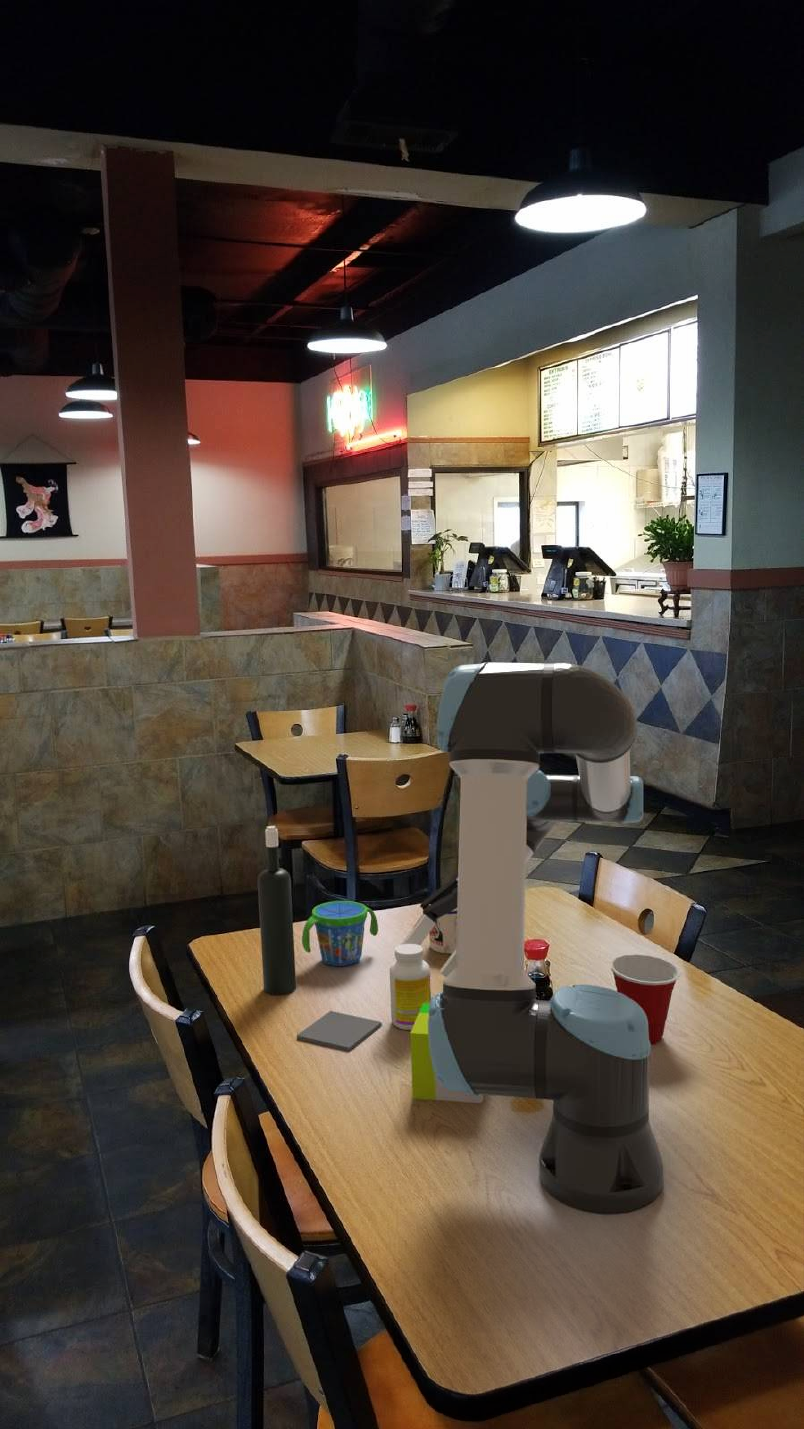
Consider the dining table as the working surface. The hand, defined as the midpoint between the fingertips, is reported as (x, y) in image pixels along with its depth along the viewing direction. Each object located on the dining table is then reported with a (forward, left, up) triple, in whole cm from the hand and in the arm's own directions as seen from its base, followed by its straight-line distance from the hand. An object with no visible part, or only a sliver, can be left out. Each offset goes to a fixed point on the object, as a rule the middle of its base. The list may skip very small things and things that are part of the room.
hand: (425, 963), depth 179 cm
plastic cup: (+8, -35, -10) cm, 37 cm away
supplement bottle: (-3, +1, -10) cm, 10 cm away
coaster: (-11, +10, -9) cm, 18 cm away
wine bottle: (-1, +29, -10) cm, 31 cm away
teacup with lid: (+29, +9, -10) cm, 32 cm away
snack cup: (+15, +26, -10) cm, 32 cm away
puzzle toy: (-18, -14, -10) cm, 25 cm away
